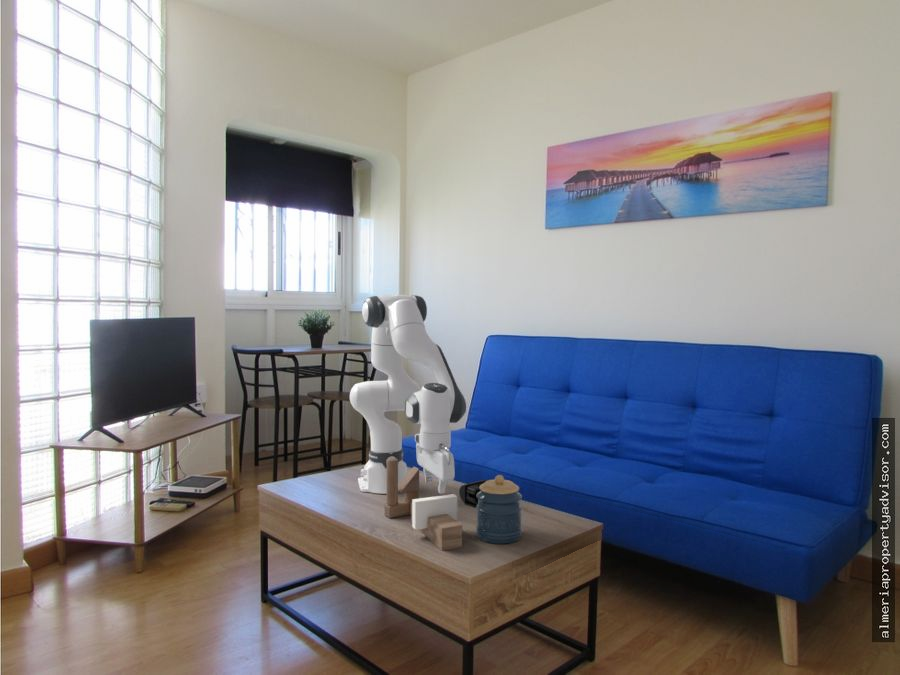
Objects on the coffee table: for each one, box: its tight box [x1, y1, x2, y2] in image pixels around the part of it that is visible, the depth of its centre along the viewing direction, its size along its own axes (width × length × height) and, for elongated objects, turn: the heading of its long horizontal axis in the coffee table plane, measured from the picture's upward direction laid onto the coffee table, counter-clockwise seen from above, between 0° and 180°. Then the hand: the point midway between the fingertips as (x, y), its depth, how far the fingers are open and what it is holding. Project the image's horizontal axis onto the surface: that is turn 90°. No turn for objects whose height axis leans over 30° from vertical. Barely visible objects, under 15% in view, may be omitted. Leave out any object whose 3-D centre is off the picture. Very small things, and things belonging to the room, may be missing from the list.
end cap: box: [458, 479, 488, 509], centre depth 208 cm, size 10×7×7 cm
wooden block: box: [384, 458, 420, 519], centre depth 195 cm, size 4×11×18 cm, turn 123°
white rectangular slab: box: [411, 493, 458, 531], centre depth 179 cm, size 13×2×8 cm, turn 114°
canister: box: [475, 474, 523, 545], centre depth 177 cm, size 13×13×18 cm
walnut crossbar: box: [410, 502, 463, 551], centre depth 179 cm, size 24×6×6 cm, turn 24°
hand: (434, 487), depth 178 cm, fingers open, 8 cm apart
